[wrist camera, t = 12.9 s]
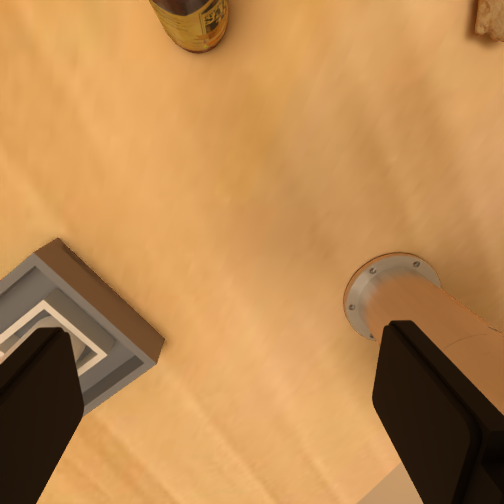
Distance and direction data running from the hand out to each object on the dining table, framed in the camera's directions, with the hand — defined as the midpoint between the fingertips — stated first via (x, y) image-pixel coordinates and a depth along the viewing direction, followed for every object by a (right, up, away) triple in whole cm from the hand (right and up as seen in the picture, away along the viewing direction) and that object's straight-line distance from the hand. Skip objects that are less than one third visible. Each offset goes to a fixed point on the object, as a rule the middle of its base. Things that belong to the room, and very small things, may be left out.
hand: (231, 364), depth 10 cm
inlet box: (-24, -7, +32) cm, 41 cm away
